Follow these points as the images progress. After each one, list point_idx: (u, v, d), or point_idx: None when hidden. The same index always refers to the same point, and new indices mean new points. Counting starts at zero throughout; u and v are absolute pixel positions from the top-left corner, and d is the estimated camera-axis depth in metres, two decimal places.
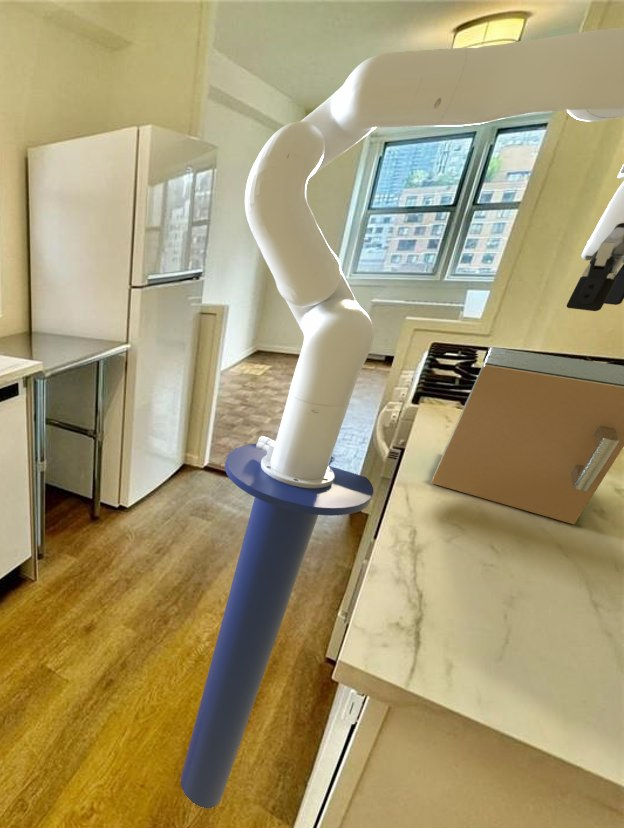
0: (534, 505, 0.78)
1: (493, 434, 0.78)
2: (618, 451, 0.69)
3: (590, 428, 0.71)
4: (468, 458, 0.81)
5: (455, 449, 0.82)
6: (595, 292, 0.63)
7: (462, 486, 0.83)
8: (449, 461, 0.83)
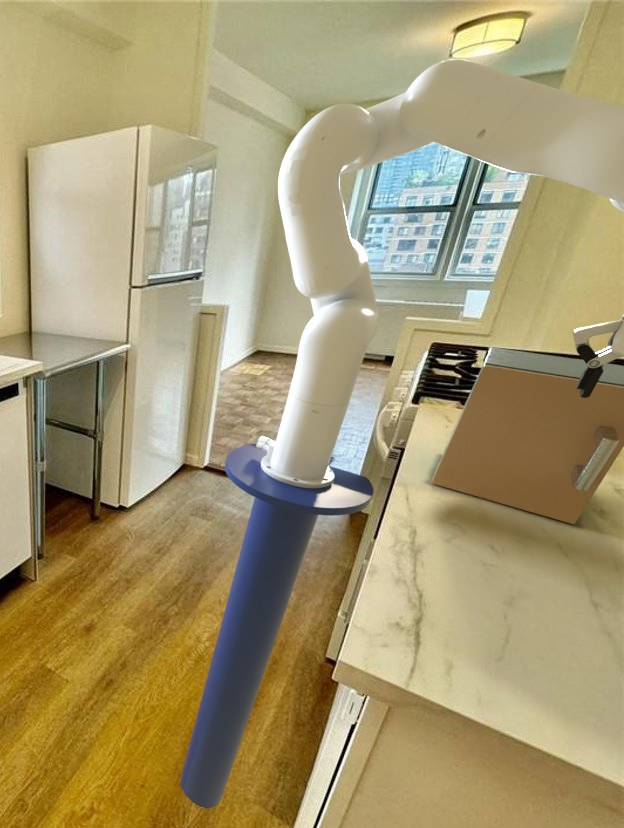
0: (534, 505, 0.78)
1: (493, 434, 0.78)
2: (618, 451, 0.69)
3: (590, 428, 0.71)
4: (468, 458, 0.81)
5: (455, 449, 0.82)
6: (582, 378, 0.65)
7: (462, 486, 0.83)
8: (449, 461, 0.83)
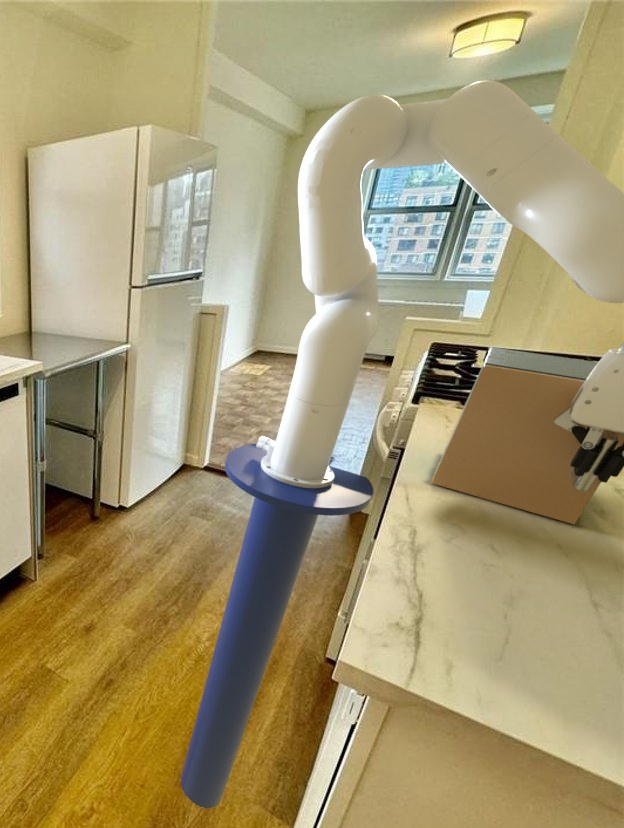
0: (534, 505, 0.78)
1: (493, 434, 0.78)
2: None
3: None
4: (468, 458, 0.81)
5: (455, 449, 0.82)
6: (576, 457, 0.68)
7: (462, 486, 0.83)
8: (449, 461, 0.83)
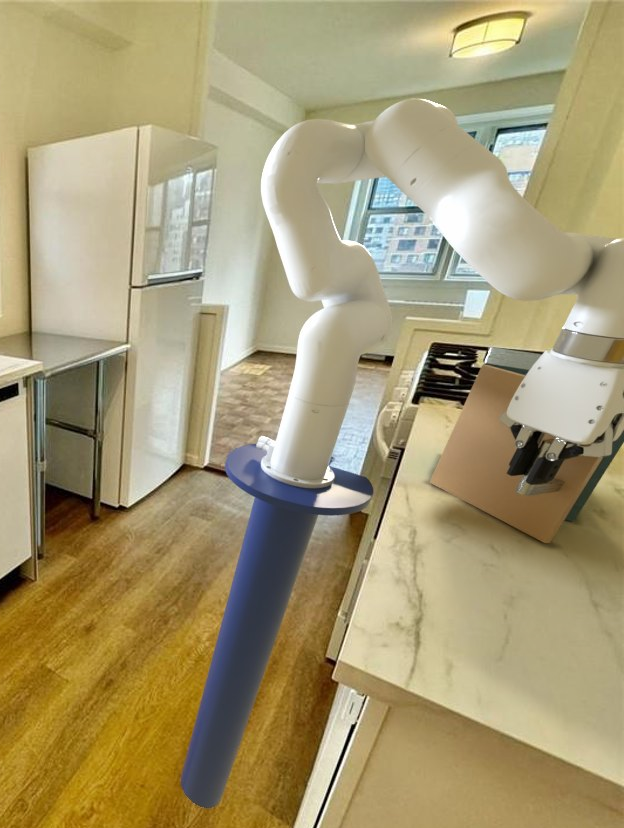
0: (512, 517, 0.74)
1: (483, 436, 0.77)
2: (590, 467, 0.65)
3: None
4: (461, 460, 0.81)
5: (451, 449, 0.82)
6: None
7: (453, 489, 0.82)
8: (445, 461, 0.83)
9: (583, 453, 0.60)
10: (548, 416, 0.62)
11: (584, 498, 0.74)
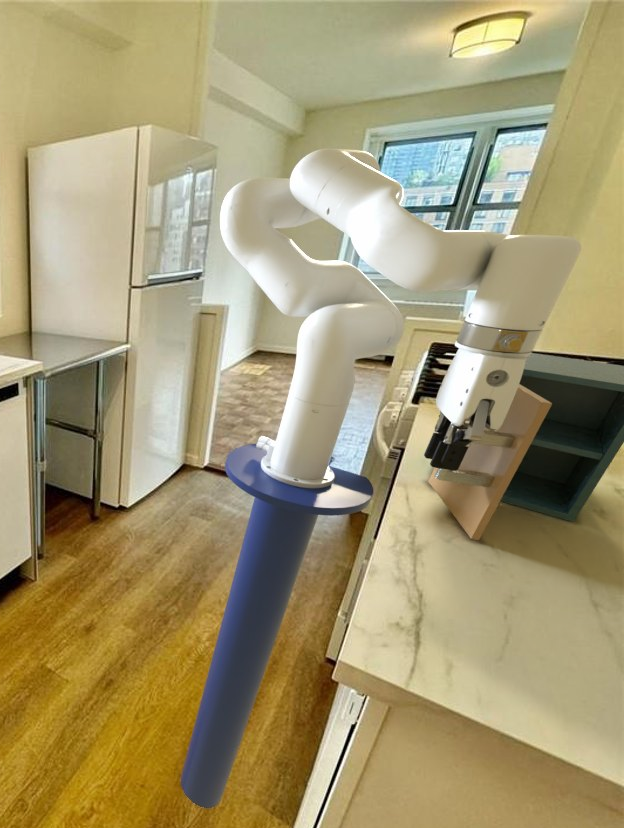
0: (460, 514, 0.75)
1: None
2: (509, 462, 0.66)
3: None
4: None
5: None
6: None
7: (438, 487, 0.83)
8: None
9: (463, 437, 0.65)
10: (446, 400, 0.67)
11: (584, 498, 0.74)
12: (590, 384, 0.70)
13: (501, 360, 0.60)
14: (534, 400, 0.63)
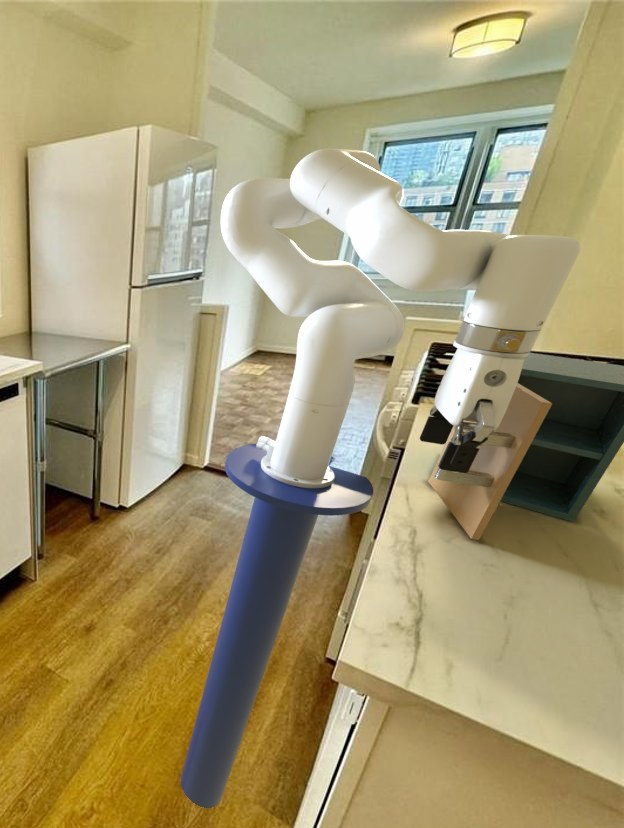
0: (460, 514, 0.75)
1: None
2: (509, 462, 0.66)
3: None
4: None
5: None
6: None
7: (438, 487, 0.83)
8: (440, 460, 0.84)
9: (475, 433, 0.61)
10: (445, 399, 0.67)
11: (584, 498, 0.74)
12: (590, 384, 0.70)
13: (499, 360, 0.60)
14: (534, 400, 0.63)
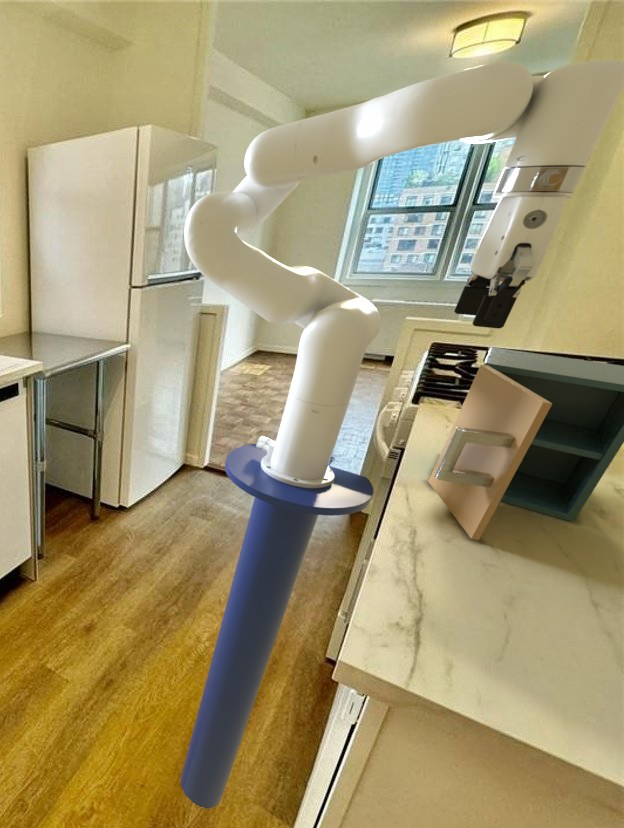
0: (460, 514, 0.75)
1: None
2: (509, 462, 0.66)
3: None
4: None
5: (446, 448, 0.82)
6: None
7: (438, 487, 0.83)
8: (440, 460, 0.84)
9: (511, 277, 0.60)
10: (482, 257, 0.66)
11: (584, 498, 0.74)
12: (590, 384, 0.70)
13: (539, 200, 0.59)
14: (534, 400, 0.63)
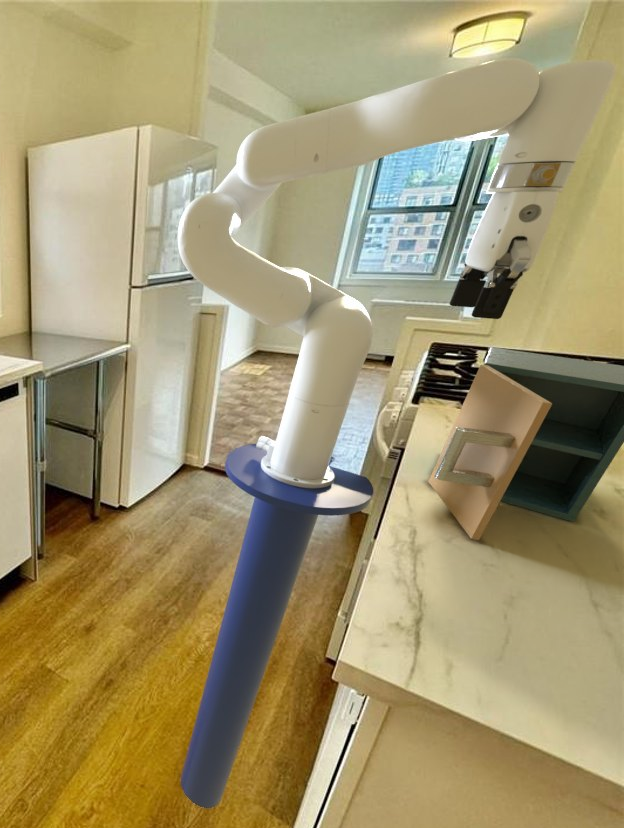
0: (460, 514, 0.75)
1: None
2: (509, 462, 0.66)
3: None
4: None
5: (446, 448, 0.82)
6: None
7: (438, 487, 0.83)
8: (440, 460, 0.84)
9: (510, 269, 0.63)
10: (477, 251, 0.69)
11: (584, 498, 0.74)
12: (590, 384, 0.70)
13: (534, 194, 0.61)
14: (534, 400, 0.63)
